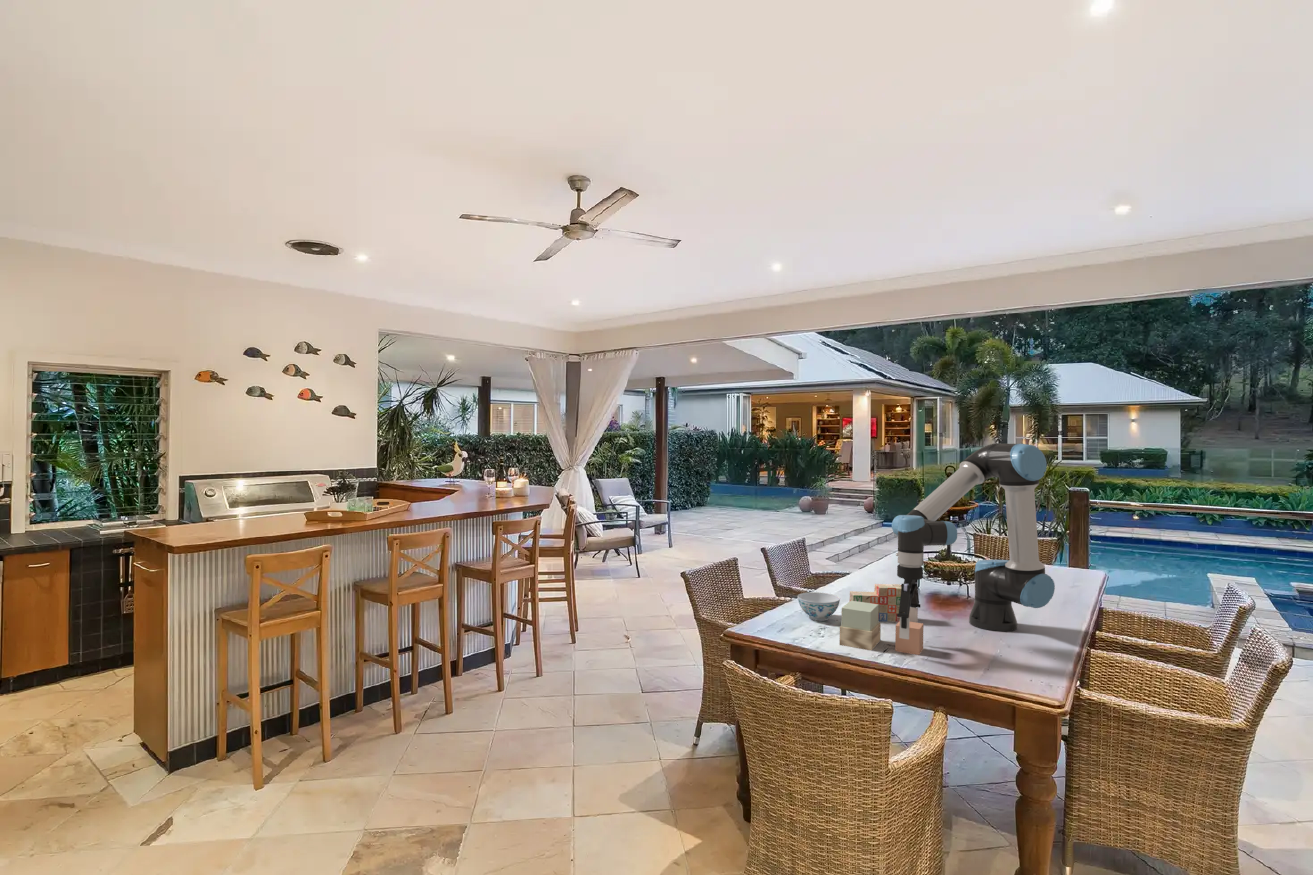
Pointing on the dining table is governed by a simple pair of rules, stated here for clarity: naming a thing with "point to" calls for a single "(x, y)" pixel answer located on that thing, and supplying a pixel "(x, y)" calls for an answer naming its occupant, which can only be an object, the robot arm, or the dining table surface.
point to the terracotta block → (910, 639)
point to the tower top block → (859, 615)
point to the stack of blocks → (882, 600)
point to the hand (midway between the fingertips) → (908, 633)
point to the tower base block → (860, 637)
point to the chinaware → (818, 604)
